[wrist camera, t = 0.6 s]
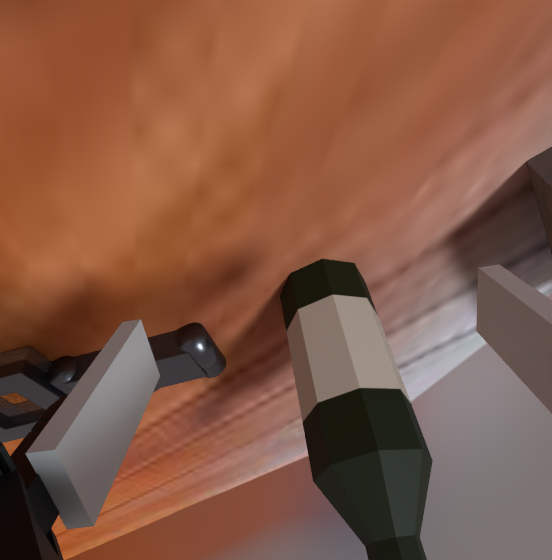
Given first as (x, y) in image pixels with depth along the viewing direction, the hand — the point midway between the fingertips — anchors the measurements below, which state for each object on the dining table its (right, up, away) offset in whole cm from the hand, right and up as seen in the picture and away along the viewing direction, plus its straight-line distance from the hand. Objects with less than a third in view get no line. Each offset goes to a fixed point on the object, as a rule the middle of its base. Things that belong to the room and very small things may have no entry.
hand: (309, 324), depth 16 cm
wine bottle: (+3, +1, +23) cm, 23 cm away
